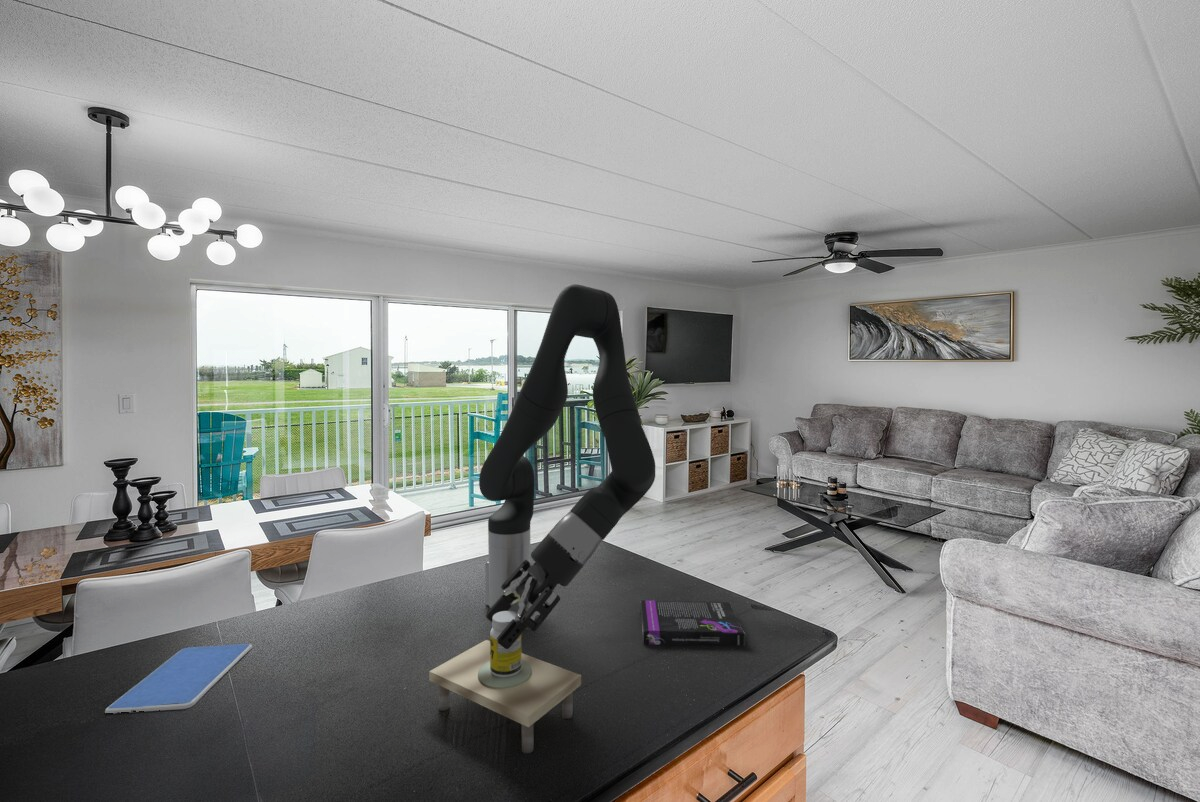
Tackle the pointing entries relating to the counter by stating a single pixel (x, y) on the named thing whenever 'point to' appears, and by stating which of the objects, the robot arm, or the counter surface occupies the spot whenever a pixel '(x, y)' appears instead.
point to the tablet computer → (180, 679)
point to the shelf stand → (507, 687)
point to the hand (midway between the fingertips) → (495, 632)
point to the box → (690, 623)
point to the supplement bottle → (501, 658)
